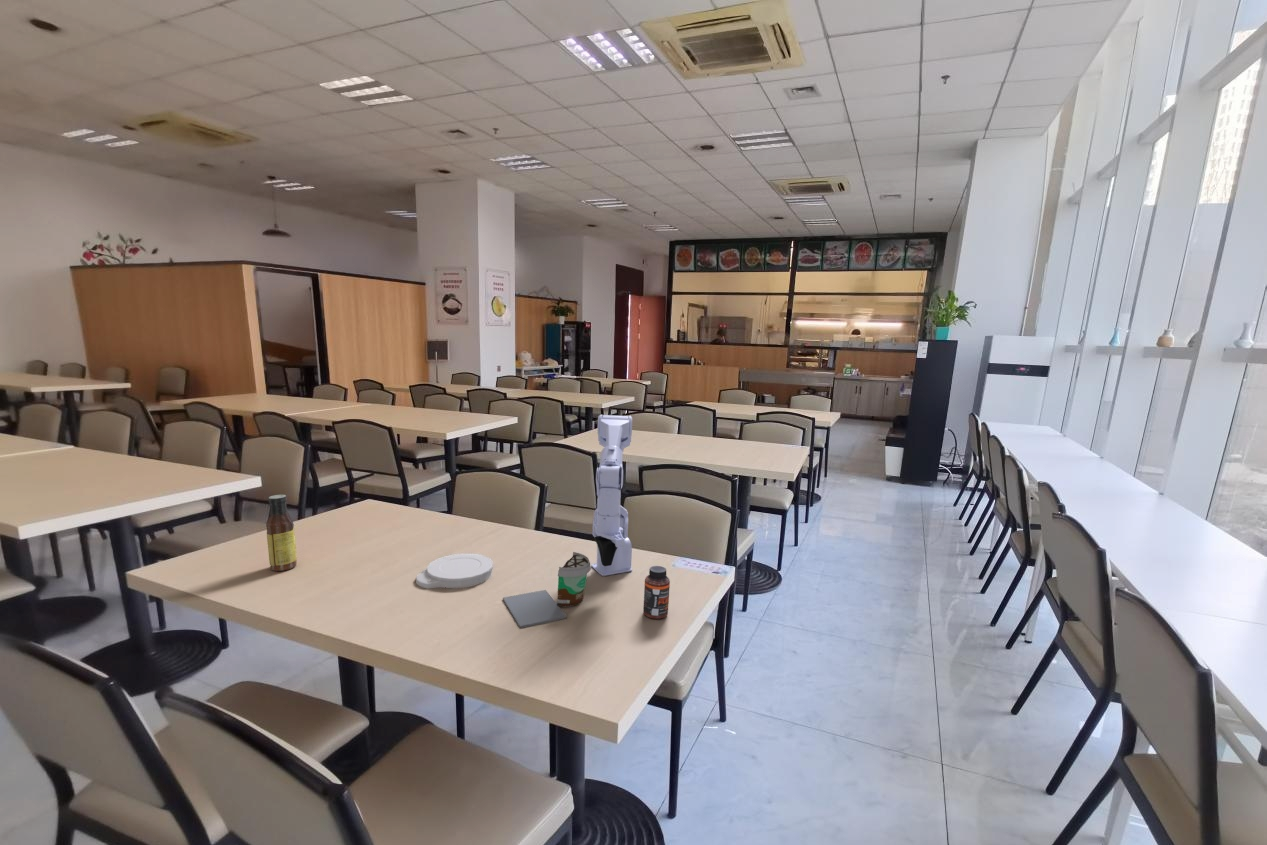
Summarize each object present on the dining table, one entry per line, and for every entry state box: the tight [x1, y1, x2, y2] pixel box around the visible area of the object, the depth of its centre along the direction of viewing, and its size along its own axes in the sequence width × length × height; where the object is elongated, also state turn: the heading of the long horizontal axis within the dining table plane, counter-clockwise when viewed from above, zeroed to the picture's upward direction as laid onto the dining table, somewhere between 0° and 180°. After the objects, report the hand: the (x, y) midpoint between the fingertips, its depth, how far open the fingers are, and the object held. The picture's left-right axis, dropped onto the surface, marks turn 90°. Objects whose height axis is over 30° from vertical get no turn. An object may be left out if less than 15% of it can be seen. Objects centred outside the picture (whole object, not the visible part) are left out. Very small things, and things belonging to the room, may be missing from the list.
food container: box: [556, 551, 592, 607], centre depth 135 cm, size 12×6×10 cm, turn 169°
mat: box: [502, 589, 568, 629], centre depth 131 cm, size 11×15×1 cm
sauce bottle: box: [265, 494, 298, 572], centre depth 147 cm, size 6×6×20 cm
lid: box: [415, 552, 494, 590], centre depth 147 cm, size 17×20×3 cm
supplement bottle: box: [642, 565, 671, 620], centre depth 130 cm, size 6×6×11 cm
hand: (606, 564), depth 138 cm, fingers closed
